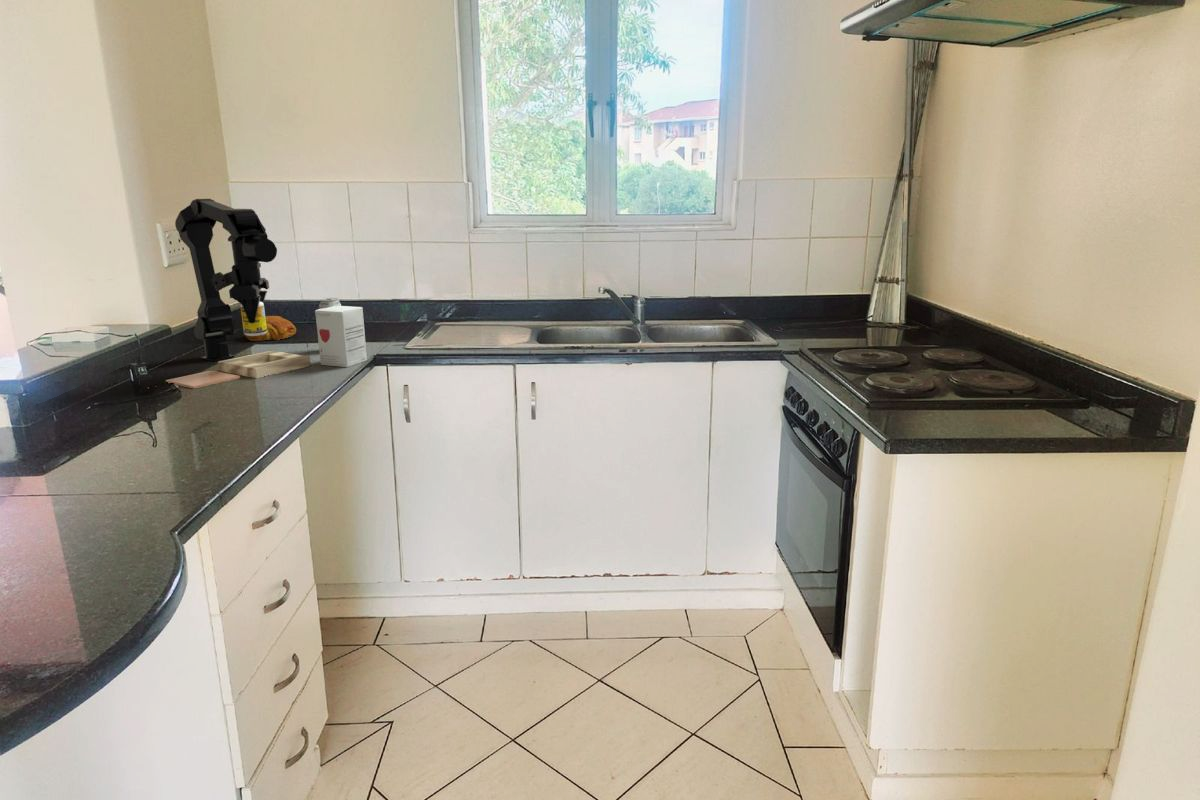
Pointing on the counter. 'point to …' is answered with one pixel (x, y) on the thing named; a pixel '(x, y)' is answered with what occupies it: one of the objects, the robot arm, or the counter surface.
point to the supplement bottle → (259, 323)
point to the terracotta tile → (203, 379)
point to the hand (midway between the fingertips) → (254, 321)
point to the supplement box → (341, 335)
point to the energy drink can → (329, 303)
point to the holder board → (264, 364)
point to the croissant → (275, 329)
